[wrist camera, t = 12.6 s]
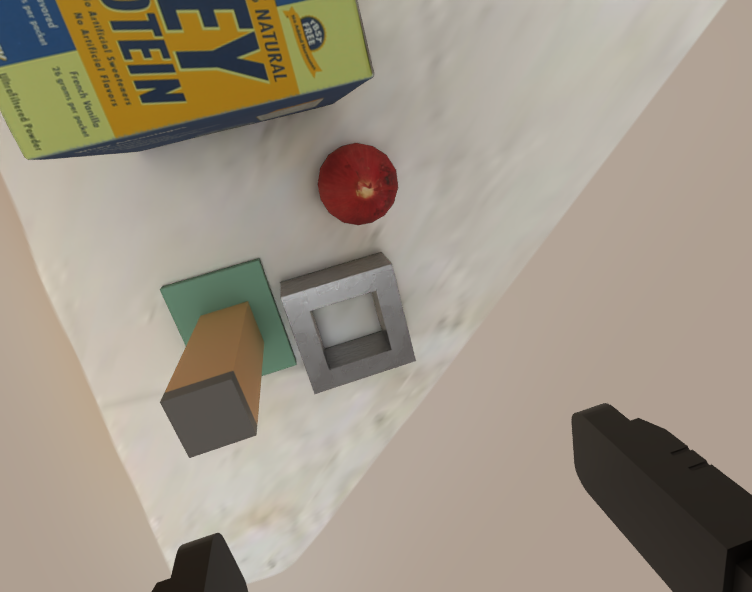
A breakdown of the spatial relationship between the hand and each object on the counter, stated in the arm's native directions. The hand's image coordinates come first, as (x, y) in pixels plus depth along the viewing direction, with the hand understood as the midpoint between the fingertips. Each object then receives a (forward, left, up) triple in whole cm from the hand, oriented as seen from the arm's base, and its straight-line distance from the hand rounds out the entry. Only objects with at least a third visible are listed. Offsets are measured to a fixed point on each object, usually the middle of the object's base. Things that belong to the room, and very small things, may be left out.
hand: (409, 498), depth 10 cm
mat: (+6, -9, -29) cm, 31 cm away
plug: (+6, -9, -29) cm, 30 cm away
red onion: (-3, +4, -30) cm, 30 cm away
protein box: (-14, -3, -30) cm, 33 cm away
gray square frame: (+8, +1, -29) cm, 30 cm away
